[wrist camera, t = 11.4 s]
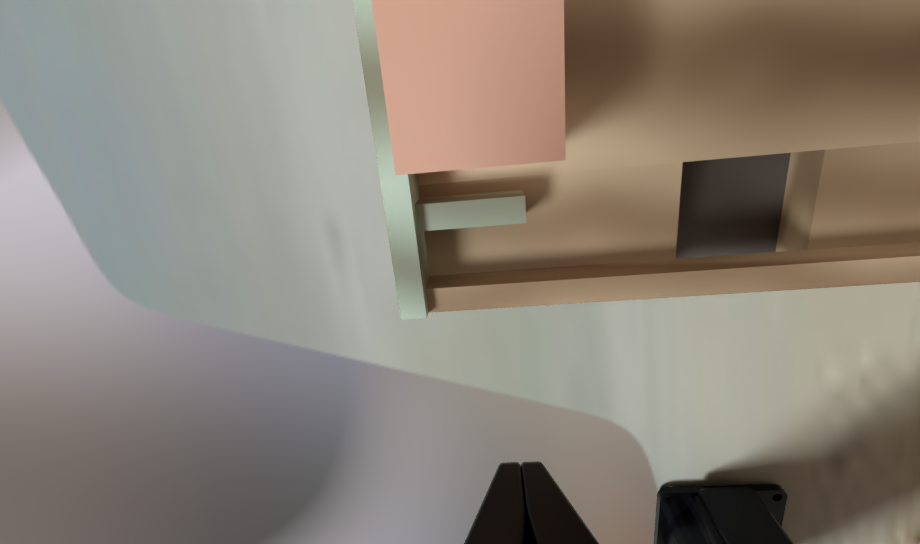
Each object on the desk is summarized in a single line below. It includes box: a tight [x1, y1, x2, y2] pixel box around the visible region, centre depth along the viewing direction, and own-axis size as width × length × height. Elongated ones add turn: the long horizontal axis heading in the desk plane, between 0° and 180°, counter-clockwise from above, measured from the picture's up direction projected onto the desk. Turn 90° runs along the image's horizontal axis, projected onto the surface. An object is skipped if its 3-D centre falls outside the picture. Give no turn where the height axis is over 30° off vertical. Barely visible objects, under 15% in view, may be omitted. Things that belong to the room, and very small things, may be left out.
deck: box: [353, 0, 920, 320], centre depth 15 cm, size 16×22×4 cm
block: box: [371, 0, 566, 175], centre depth 14 cm, size 5×5×4 cm
